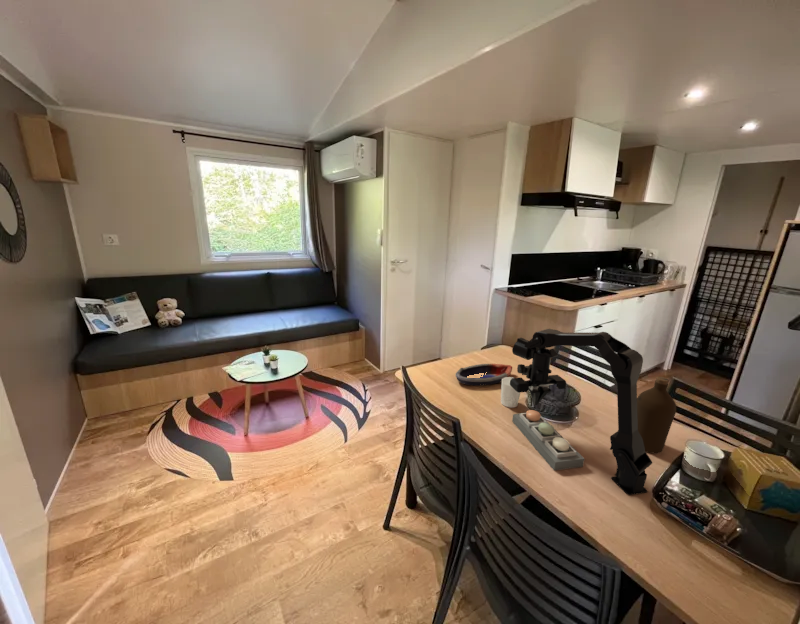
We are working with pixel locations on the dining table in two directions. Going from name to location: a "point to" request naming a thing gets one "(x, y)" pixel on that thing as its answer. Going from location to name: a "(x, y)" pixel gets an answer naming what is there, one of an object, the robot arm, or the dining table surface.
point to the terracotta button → (533, 415)
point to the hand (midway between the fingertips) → (535, 404)
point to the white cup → (508, 393)
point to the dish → (492, 376)
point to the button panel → (547, 444)
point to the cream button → (560, 444)
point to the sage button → (546, 429)
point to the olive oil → (655, 415)
